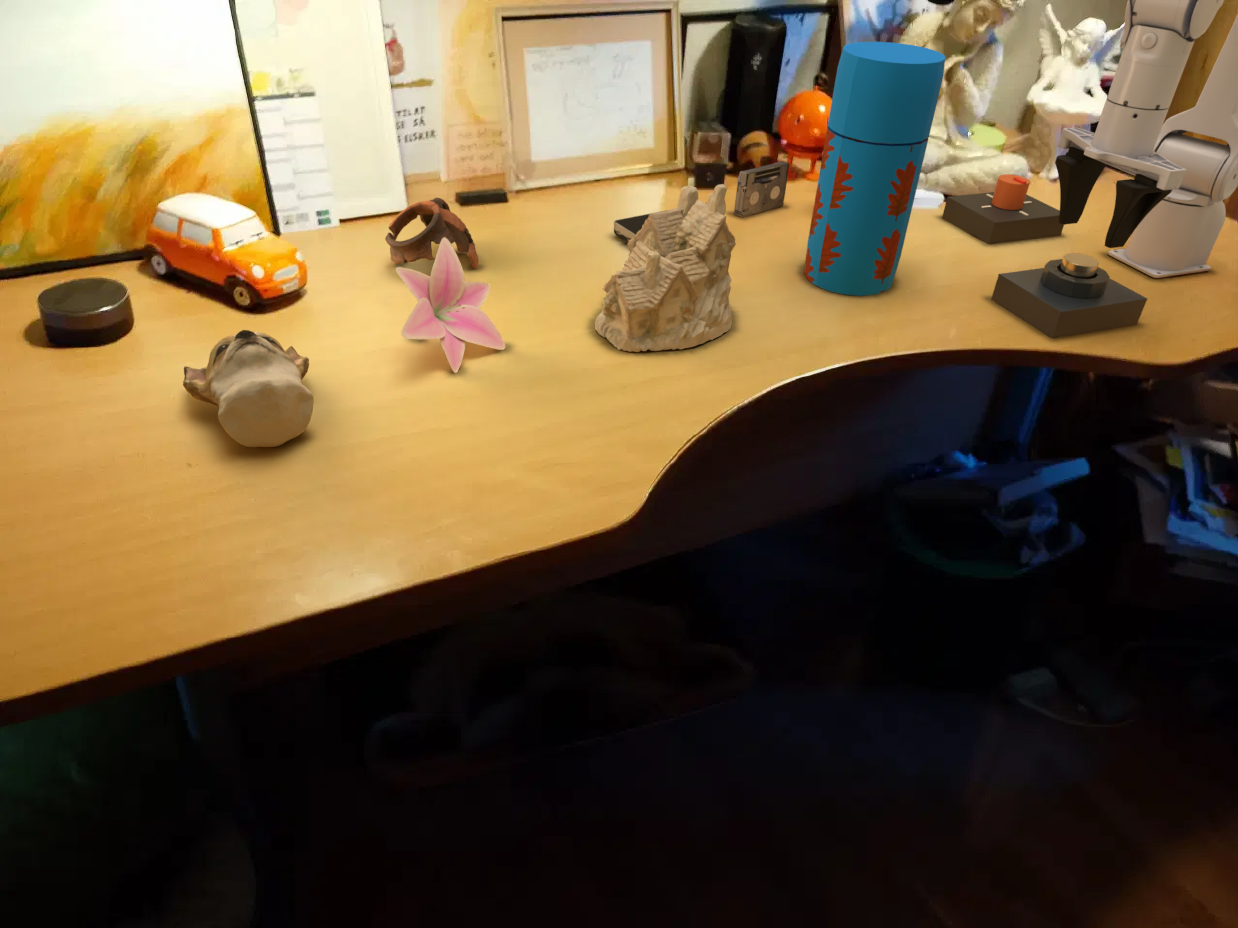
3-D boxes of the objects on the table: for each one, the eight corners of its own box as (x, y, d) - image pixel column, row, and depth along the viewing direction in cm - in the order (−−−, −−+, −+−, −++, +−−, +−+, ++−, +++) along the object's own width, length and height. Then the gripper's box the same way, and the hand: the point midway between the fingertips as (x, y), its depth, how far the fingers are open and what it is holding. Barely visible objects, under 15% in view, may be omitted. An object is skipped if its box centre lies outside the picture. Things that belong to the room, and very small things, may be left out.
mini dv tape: (775, 203, 128) (781, 160, 125) (783, 206, 127) (789, 163, 124) (733, 214, 124) (738, 170, 121) (741, 217, 123) (747, 173, 120)
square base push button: (1071, 287, 109) (1086, 248, 106) (1136, 324, 101) (1154, 283, 98) (990, 299, 105) (1003, 258, 102) (1051, 338, 97) (1067, 296, 94)
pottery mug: (485, 283, 104) (446, 229, 98) (414, 312, 106) (372, 262, 100) (484, 219, 111) (449, 166, 105) (418, 248, 114) (380, 198, 108)
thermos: (887, 262, 112) (937, 45, 98) (900, 299, 104) (957, 67, 89) (799, 255, 113) (835, 38, 98) (805, 292, 104) (846, 60, 90)
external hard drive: (611, 236, 116) (612, 220, 115) (681, 221, 121) (683, 207, 120) (641, 255, 111) (642, 239, 110) (713, 239, 116) (714, 224, 115)
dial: (985, 201, 123) (992, 173, 121) (1008, 198, 125) (1016, 171, 122) (1004, 211, 120) (1013, 183, 118) (1028, 208, 122) (1037, 180, 119)
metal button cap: (1076, 266, 102) (1082, 251, 101) (1100, 279, 99) (1106, 264, 98) (1051, 269, 101) (1056, 254, 100) (1075, 282, 98) (1080, 267, 97)
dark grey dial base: (1010, 210, 130) (1017, 188, 128) (1060, 236, 122) (1068, 213, 121) (941, 217, 126) (947, 195, 124) (988, 244, 119) (995, 221, 117)
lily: (386, 393, 85) (422, 324, 79) (353, 301, 90) (385, 229, 84) (496, 395, 92) (537, 332, 86) (460, 310, 97) (497, 244, 91)
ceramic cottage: (688, 273, 107) (694, 146, 97) (756, 340, 95) (771, 204, 86) (564, 298, 102) (557, 168, 93) (619, 372, 90) (618, 232, 81)
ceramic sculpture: (187, 379, 66) (160, 308, 77) (213, 478, 71) (184, 398, 82) (332, 350, 71) (287, 287, 82) (348, 444, 76) (303, 373, 87)
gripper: (1053, 86, 94) (1015, 213, 102) (1166, 125, 83) (1112, 264, 91) (1106, 83, 96) (1064, 208, 104) (1222, 121, 85) (1165, 257, 93)
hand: (1090, 234), depth 98 cm, fingers open, 6 cm apart
